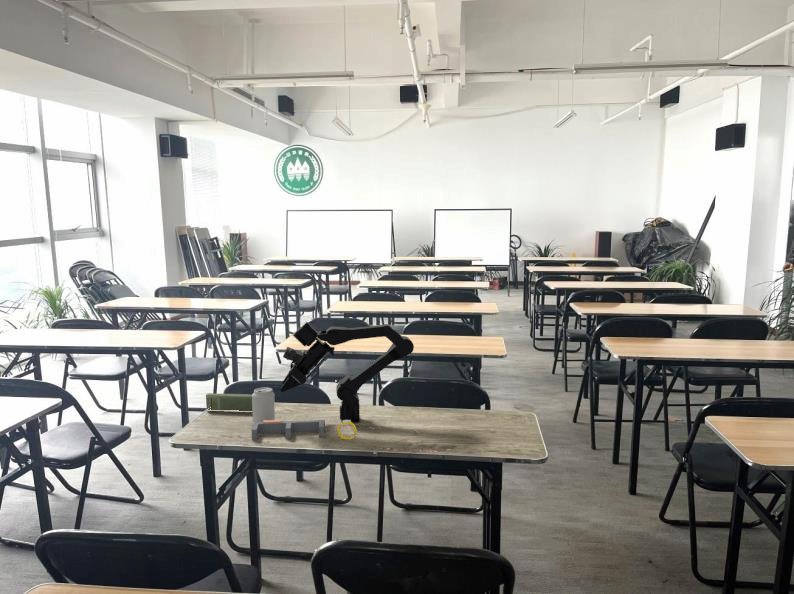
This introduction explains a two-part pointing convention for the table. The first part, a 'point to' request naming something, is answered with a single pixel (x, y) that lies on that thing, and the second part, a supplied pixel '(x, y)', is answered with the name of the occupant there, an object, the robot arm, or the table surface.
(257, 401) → the can
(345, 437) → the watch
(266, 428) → the comb rack
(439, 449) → the table surface
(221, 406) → the handheld radio
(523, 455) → the table surface
